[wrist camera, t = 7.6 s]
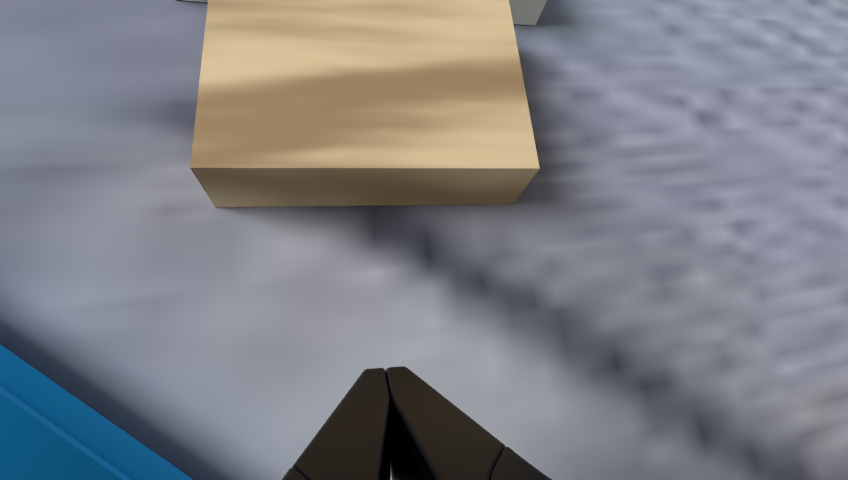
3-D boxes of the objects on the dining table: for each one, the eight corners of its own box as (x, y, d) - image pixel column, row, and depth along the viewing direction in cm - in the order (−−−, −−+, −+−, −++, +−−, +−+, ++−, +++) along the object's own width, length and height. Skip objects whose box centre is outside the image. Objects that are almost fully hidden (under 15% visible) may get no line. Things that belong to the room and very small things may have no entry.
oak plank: (539, 168, 20) (507, -8, 24) (190, 167, 18) (211, -28, 21) (510, 207, 24) (486, 50, 27) (217, 211, 22) (232, 39, 25)
